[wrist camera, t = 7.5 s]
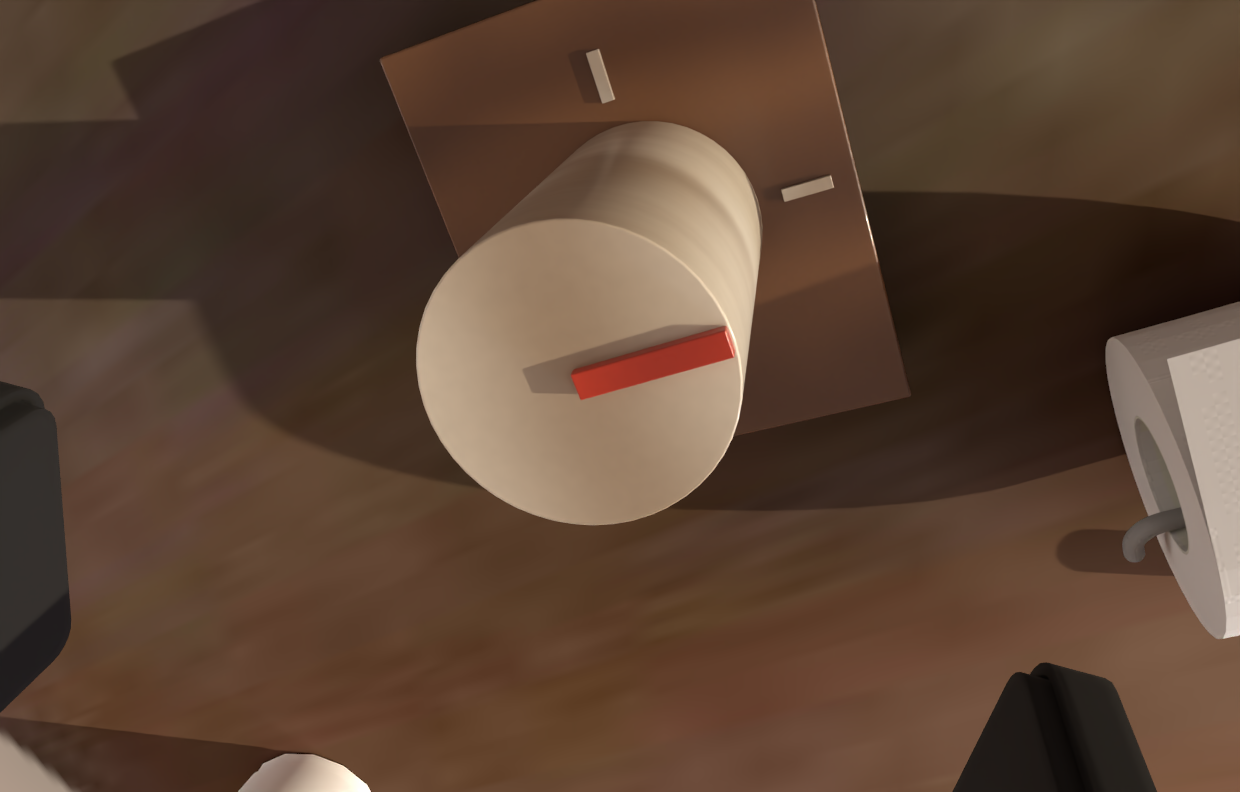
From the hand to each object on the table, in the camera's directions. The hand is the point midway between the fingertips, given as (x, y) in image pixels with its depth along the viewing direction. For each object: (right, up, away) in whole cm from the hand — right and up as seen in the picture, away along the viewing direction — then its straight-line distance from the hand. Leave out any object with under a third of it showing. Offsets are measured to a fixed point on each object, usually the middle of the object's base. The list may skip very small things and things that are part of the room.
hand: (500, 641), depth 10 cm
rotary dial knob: (+2, +7, +19) cm, 21 cm away
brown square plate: (+3, +8, +22) cm, 24 cm away
